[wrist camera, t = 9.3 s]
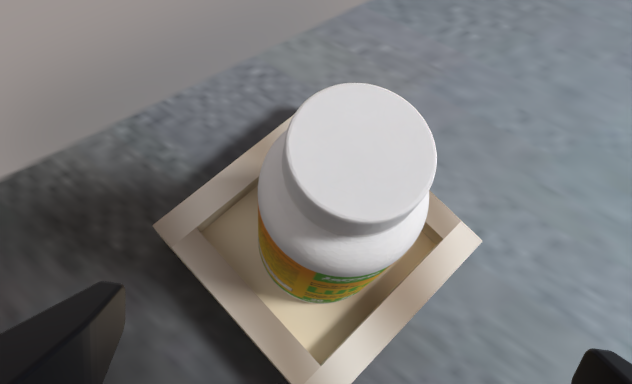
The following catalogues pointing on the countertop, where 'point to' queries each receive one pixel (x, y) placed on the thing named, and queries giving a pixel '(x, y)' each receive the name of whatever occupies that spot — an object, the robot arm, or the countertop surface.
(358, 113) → the supplement bottle
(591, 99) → the countertop surface
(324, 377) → the recess plate
